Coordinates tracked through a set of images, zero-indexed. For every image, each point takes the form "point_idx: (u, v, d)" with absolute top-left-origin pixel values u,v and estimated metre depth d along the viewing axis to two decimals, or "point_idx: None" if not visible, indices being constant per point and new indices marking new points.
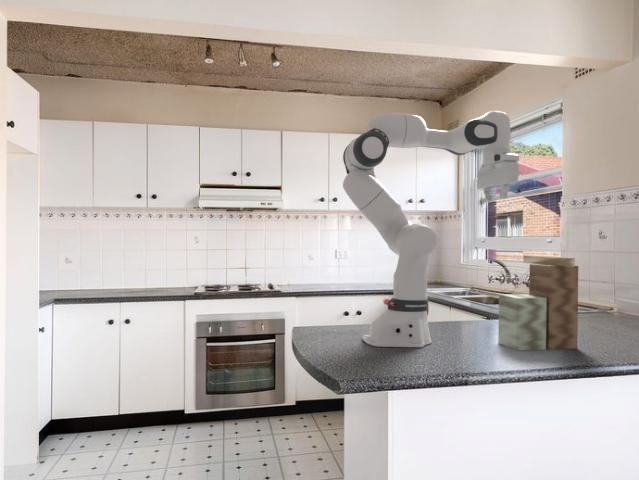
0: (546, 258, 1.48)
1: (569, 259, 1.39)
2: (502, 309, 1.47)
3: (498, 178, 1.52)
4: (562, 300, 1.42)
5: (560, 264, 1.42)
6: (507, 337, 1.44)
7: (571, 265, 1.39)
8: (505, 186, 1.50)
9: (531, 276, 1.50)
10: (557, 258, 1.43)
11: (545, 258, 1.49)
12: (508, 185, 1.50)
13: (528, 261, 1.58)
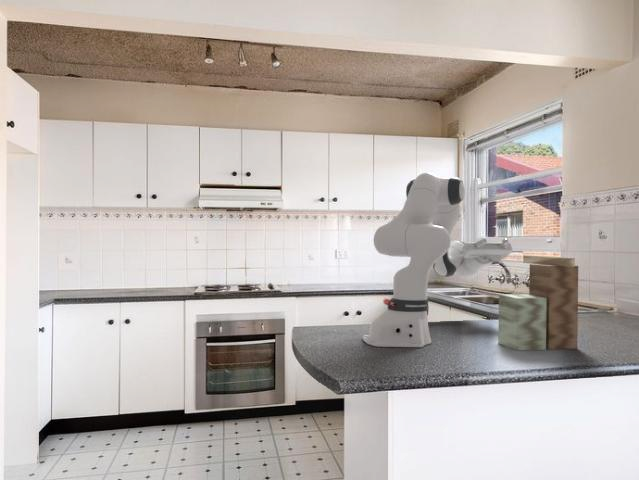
0: (546, 258, 1.48)
1: (569, 259, 1.39)
2: (502, 309, 1.47)
3: None
4: (562, 300, 1.42)
5: (560, 264, 1.42)
6: (507, 337, 1.44)
7: (571, 265, 1.39)
8: None
9: (531, 276, 1.50)
10: (557, 258, 1.43)
11: (545, 258, 1.49)
12: None
13: (528, 261, 1.58)
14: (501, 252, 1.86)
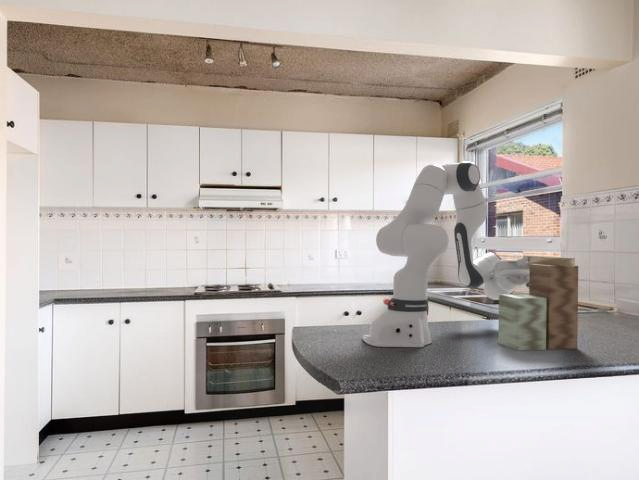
0: (546, 258, 1.48)
1: (569, 259, 1.39)
2: (502, 309, 1.47)
3: None
4: (562, 300, 1.42)
5: (560, 264, 1.42)
6: (507, 337, 1.44)
7: (571, 265, 1.39)
8: None
9: (531, 276, 1.50)
10: (557, 258, 1.43)
11: (545, 258, 1.49)
12: None
13: None
14: None
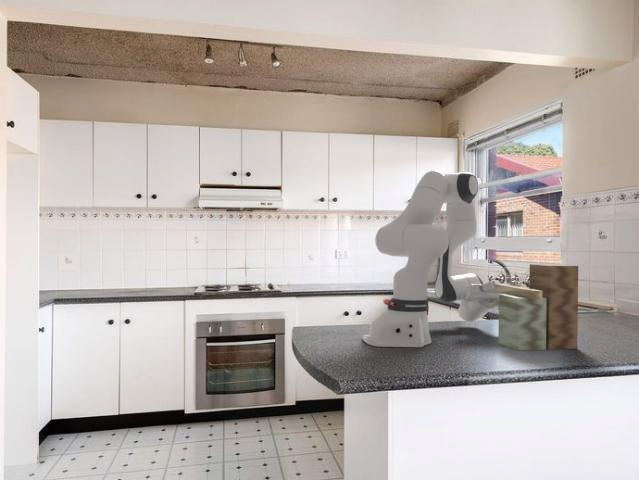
0: (515, 289, 1.46)
1: (536, 292, 1.37)
2: (502, 309, 1.47)
3: None
4: (562, 300, 1.42)
5: (528, 296, 1.40)
6: (507, 337, 1.44)
7: (538, 298, 1.37)
8: None
9: (531, 276, 1.50)
10: (525, 290, 1.41)
11: (514, 289, 1.47)
12: None
13: (499, 290, 1.56)
14: None
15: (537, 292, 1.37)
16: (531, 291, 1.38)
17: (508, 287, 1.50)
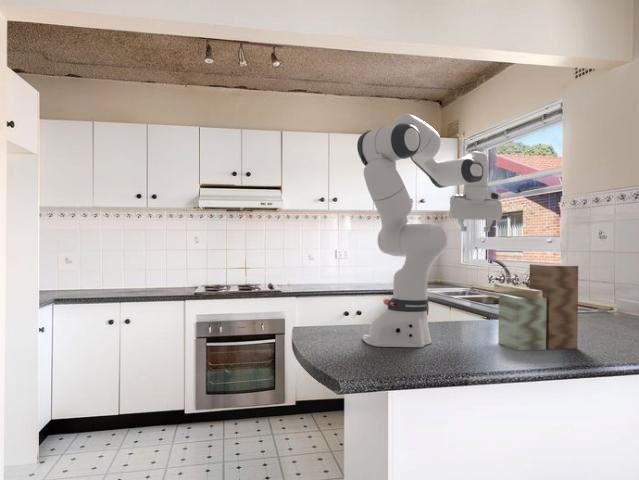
0: (515, 289, 1.46)
1: (536, 292, 1.37)
2: (502, 309, 1.47)
3: (488, 214, 1.71)
4: (562, 300, 1.42)
5: (528, 296, 1.40)
6: (507, 337, 1.44)
7: (538, 298, 1.37)
8: None
9: (531, 276, 1.50)
10: (525, 290, 1.41)
11: (514, 289, 1.47)
12: None
13: (499, 290, 1.56)
14: None
15: (537, 292, 1.37)
16: (531, 291, 1.38)
17: (508, 287, 1.50)
